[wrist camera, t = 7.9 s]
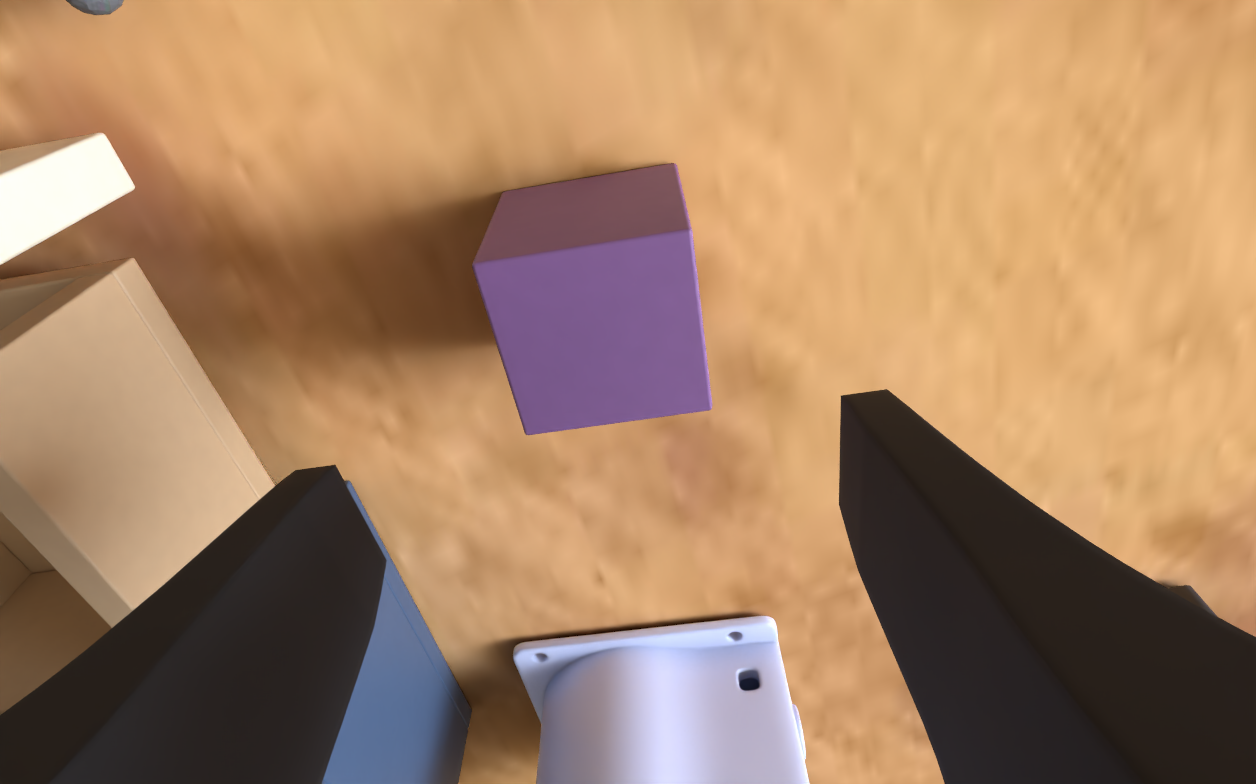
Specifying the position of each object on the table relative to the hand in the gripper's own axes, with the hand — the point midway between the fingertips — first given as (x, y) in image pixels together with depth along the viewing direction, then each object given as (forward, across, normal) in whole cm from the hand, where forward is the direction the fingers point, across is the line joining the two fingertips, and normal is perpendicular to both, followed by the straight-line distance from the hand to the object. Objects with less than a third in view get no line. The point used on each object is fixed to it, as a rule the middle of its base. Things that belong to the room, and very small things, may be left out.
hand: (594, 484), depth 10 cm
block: (+8, 0, 0) cm, 8 cm away
